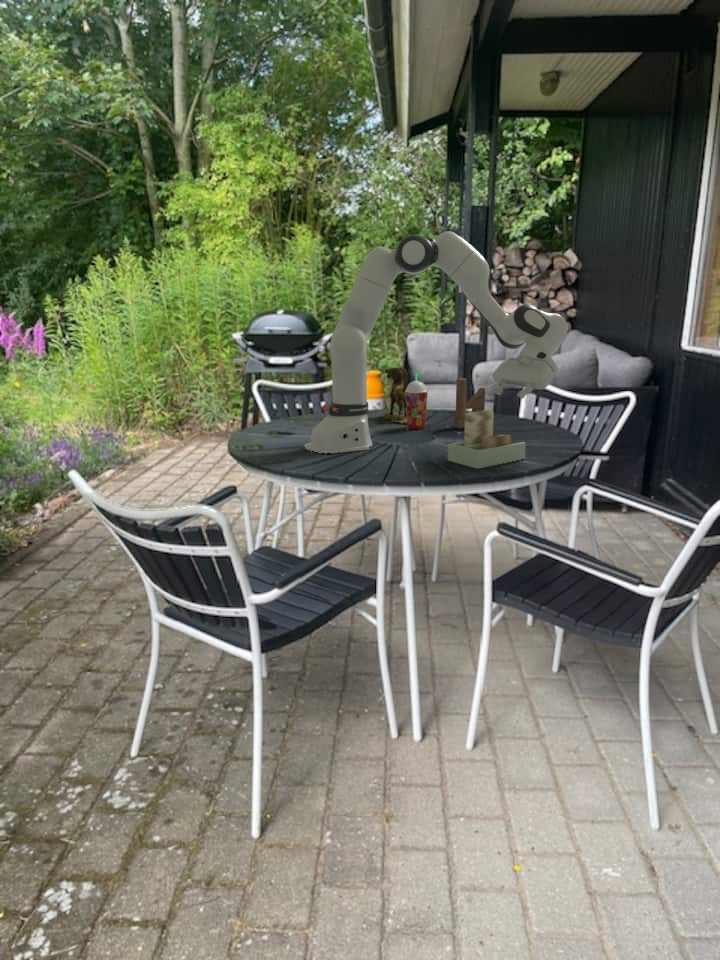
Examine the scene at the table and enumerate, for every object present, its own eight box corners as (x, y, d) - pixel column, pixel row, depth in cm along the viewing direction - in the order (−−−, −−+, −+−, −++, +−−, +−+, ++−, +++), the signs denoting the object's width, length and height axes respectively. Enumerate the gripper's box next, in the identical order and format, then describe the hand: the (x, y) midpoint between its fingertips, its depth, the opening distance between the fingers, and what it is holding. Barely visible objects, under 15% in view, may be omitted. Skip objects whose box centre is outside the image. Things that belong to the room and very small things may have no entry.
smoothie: (427, 425, 261) (428, 371, 256) (427, 430, 253) (427, 374, 248) (405, 425, 262) (405, 372, 257) (404, 429, 254) (404, 374, 249)
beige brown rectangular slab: (469, 461, 206) (471, 414, 202) (463, 459, 208) (464, 413, 204) (492, 457, 210) (493, 410, 207) (486, 455, 213) (487, 409, 209)
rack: (477, 468, 197) (477, 451, 195) (447, 460, 207) (448, 443, 206) (524, 459, 207) (525, 442, 206) (494, 451, 217) (495, 436, 216)
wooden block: (484, 427, 258) (485, 377, 253) (458, 429, 254) (459, 379, 250) (479, 425, 261) (480, 376, 256) (453, 427, 258) (454, 378, 253)
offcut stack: (487, 464, 201) (488, 439, 199) (477, 462, 204) (478, 436, 202) (511, 460, 206) (512, 435, 204) (501, 457, 209) (502, 433, 207)
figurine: (407, 413, 289) (407, 364, 284) (421, 424, 265) (422, 370, 260) (376, 414, 287) (376, 365, 282) (388, 425, 263) (388, 371, 258)
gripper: (502, 351, 220) (478, 384, 217) (553, 355, 204) (528, 391, 201) (512, 364, 224) (488, 397, 221) (563, 369, 207) (538, 405, 205)
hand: (508, 395), depth 211 cm, fingers open, 8 cm apart
